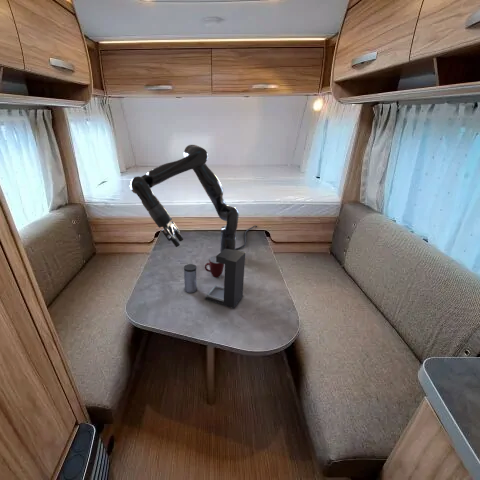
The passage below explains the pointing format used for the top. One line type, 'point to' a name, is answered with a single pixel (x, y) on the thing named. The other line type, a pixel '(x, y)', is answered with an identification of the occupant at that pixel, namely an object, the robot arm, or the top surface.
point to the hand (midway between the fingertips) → (180, 243)
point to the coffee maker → (229, 278)
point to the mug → (214, 267)
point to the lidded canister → (190, 278)
